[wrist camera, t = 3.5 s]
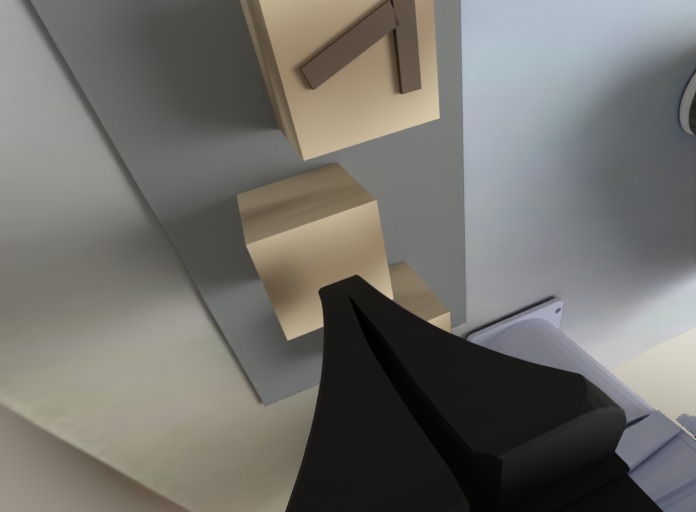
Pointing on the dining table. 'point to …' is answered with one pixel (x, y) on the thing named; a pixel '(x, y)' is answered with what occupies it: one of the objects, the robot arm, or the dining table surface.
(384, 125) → the block marked 7
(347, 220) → the blank block
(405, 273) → the block marked 1
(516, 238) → the dining table surface
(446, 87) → the slate mat
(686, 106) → the supplement bottle
